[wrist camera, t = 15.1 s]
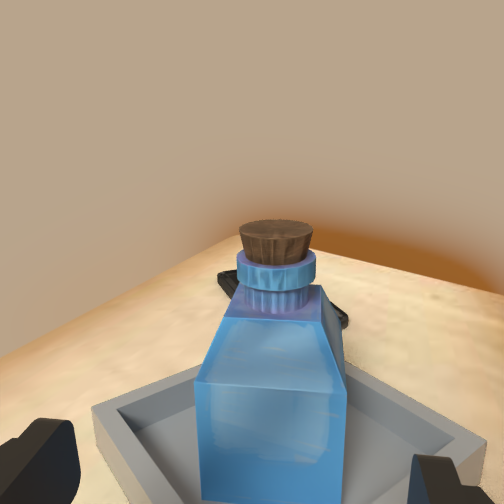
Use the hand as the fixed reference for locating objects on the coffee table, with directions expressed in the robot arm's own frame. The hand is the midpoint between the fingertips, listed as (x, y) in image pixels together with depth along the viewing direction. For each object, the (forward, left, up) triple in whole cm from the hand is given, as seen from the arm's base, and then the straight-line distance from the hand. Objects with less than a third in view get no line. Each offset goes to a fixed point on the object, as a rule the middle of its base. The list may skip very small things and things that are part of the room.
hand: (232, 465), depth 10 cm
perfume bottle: (-7, -7, -9) cm, 14 cm away
